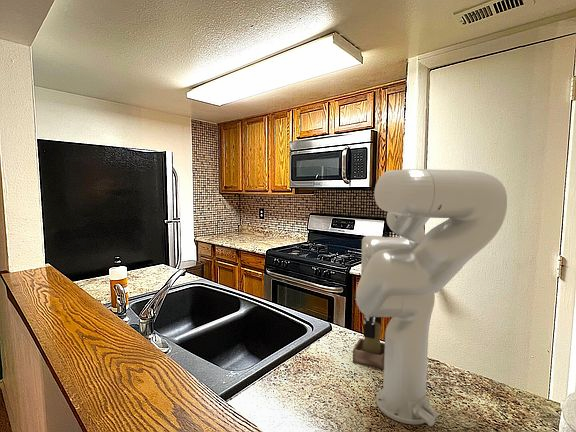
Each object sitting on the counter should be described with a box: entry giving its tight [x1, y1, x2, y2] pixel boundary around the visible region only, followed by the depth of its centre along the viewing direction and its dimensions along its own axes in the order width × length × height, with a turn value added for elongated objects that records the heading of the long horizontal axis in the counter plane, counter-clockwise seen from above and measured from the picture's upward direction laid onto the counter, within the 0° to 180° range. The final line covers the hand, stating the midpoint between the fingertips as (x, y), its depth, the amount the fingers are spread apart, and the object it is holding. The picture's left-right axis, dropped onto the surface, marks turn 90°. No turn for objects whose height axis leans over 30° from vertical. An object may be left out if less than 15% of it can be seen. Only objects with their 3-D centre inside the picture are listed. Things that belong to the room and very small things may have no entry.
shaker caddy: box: [352, 338, 385, 371], centre depth 96 cm, size 9×9×4 cm
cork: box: [362, 322, 382, 355], centre depth 96 cm, size 6×6×11 cm
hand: (372, 331), depth 95 cm, fingers open, 9 cm apart
